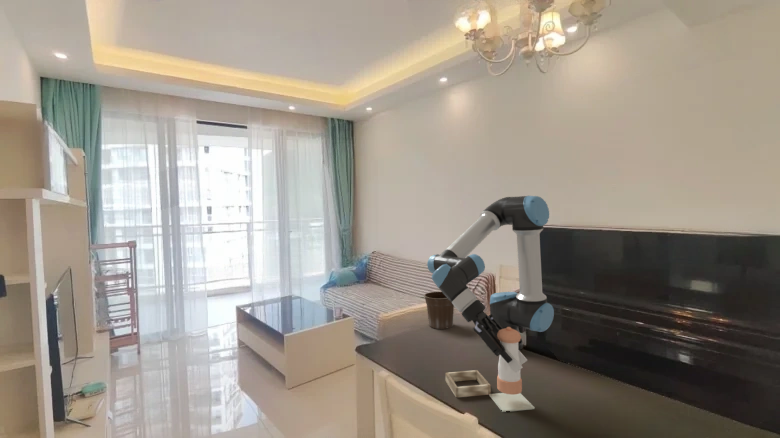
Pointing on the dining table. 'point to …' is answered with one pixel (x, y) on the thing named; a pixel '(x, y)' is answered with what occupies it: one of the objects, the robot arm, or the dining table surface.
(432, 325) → the plant pot
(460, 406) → the dining table surface
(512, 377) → the pepper shaker
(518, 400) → the sage pad
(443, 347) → the dining table surface
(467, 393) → the birch surround
